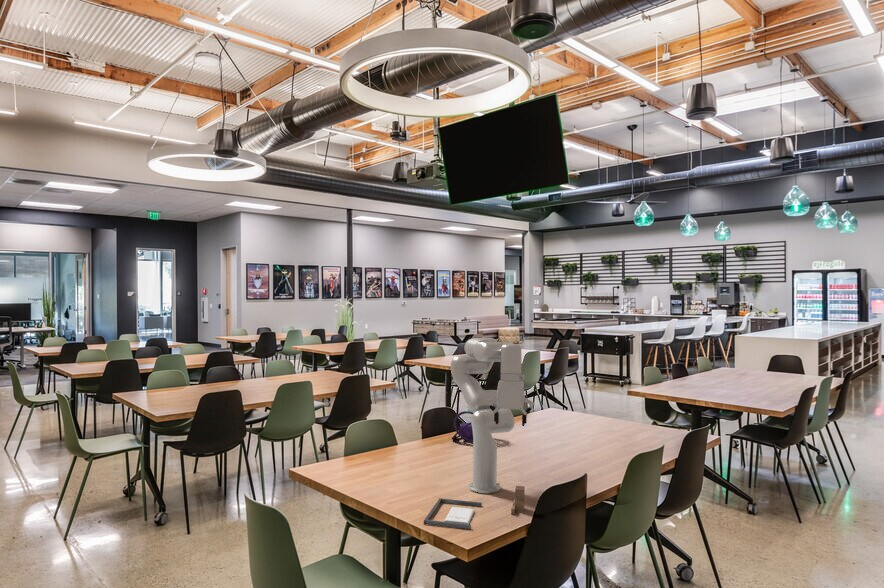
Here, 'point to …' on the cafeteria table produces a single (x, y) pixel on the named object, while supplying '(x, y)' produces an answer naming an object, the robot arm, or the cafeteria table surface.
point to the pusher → (518, 500)
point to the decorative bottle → (464, 428)
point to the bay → (449, 524)
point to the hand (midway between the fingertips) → (510, 424)
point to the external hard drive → (459, 515)
